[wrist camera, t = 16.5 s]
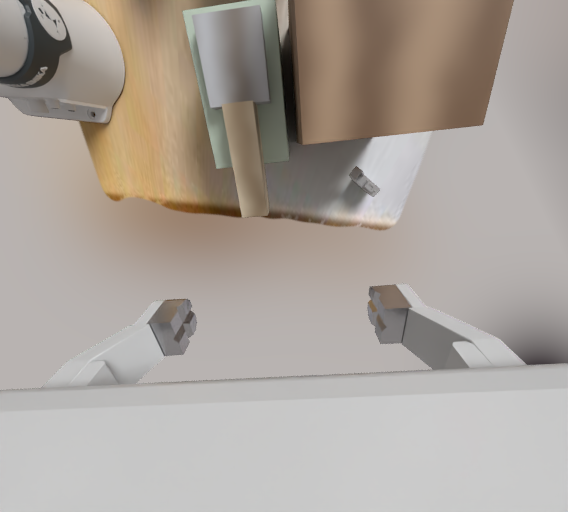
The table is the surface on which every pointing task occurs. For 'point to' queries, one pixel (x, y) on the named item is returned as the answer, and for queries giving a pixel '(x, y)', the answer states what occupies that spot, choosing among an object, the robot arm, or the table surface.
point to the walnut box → (392, 65)
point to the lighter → (363, 182)
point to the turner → (238, 93)
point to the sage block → (269, 114)
